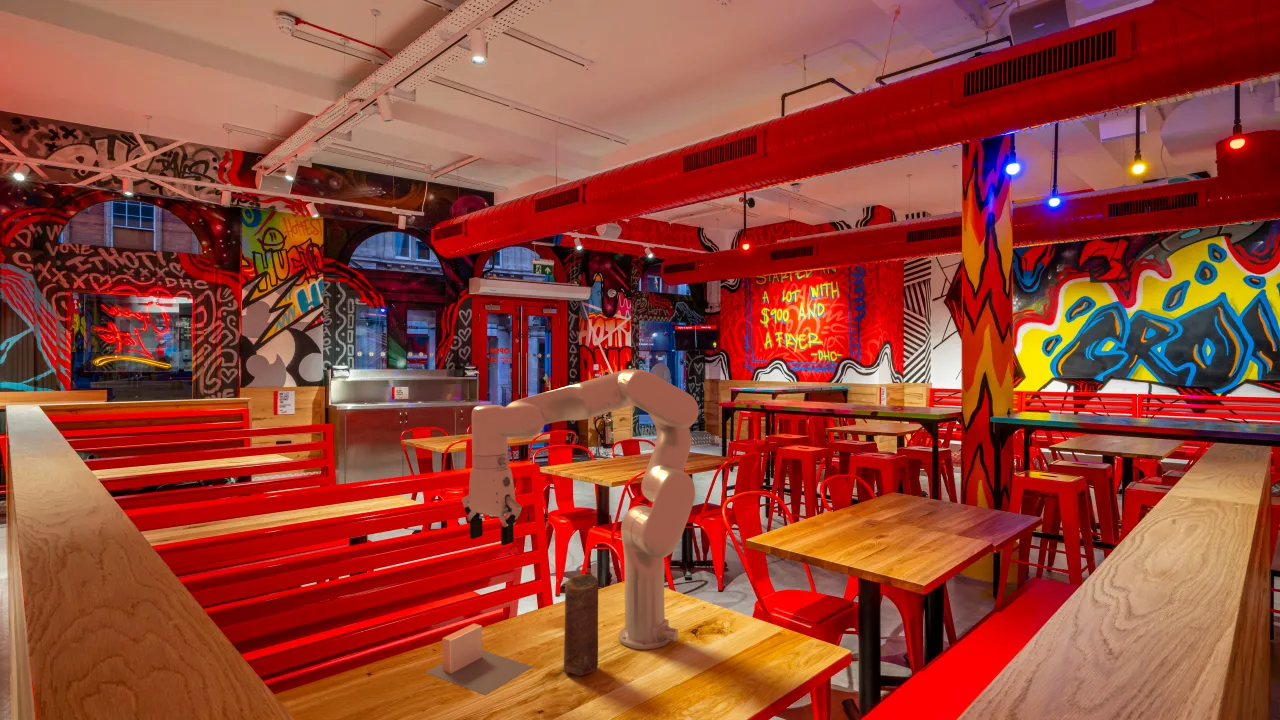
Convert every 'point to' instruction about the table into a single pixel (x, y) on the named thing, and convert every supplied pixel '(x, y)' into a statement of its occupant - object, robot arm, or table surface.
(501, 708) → the table surface
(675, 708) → the table surface
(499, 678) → the board
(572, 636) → the brown weathered post
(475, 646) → the tile
